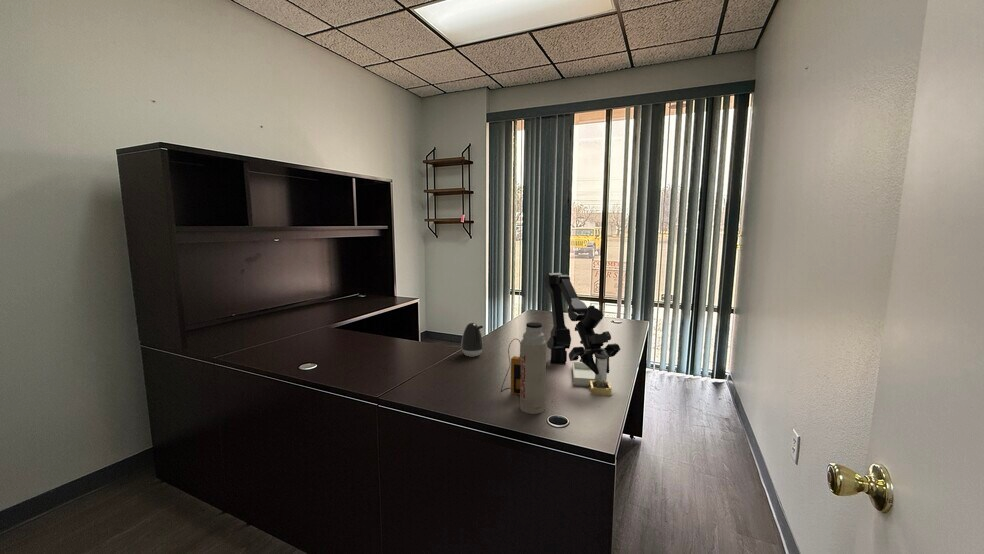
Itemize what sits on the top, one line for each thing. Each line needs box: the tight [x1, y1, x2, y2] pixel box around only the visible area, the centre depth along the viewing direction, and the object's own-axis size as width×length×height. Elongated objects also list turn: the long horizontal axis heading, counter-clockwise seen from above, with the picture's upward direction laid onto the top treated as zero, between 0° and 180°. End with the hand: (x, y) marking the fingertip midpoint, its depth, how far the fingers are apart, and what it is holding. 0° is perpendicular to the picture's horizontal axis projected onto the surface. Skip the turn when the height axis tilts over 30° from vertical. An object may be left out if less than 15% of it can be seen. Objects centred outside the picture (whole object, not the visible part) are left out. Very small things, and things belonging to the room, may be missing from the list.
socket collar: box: [589, 381, 612, 397], centre depth 140 cm, size 7×7×2 cm
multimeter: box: [500, 338, 521, 396], centre depth 140 cm, size 15×10×20 cm
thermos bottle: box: [519, 321, 547, 415], centre depth 125 cm, size 8×8×28 cm
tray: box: [571, 361, 595, 387], centre depth 153 cm, size 10×18×3 cm, turn 170°
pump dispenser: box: [460, 322, 484, 358], centre depth 180 cm, size 10×10×15 cm
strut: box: [594, 351, 608, 388], centre depth 139 cm, size 5×5×14 cm
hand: (603, 373), depth 138 cm, fingers closed on strut, 4 cm apart
